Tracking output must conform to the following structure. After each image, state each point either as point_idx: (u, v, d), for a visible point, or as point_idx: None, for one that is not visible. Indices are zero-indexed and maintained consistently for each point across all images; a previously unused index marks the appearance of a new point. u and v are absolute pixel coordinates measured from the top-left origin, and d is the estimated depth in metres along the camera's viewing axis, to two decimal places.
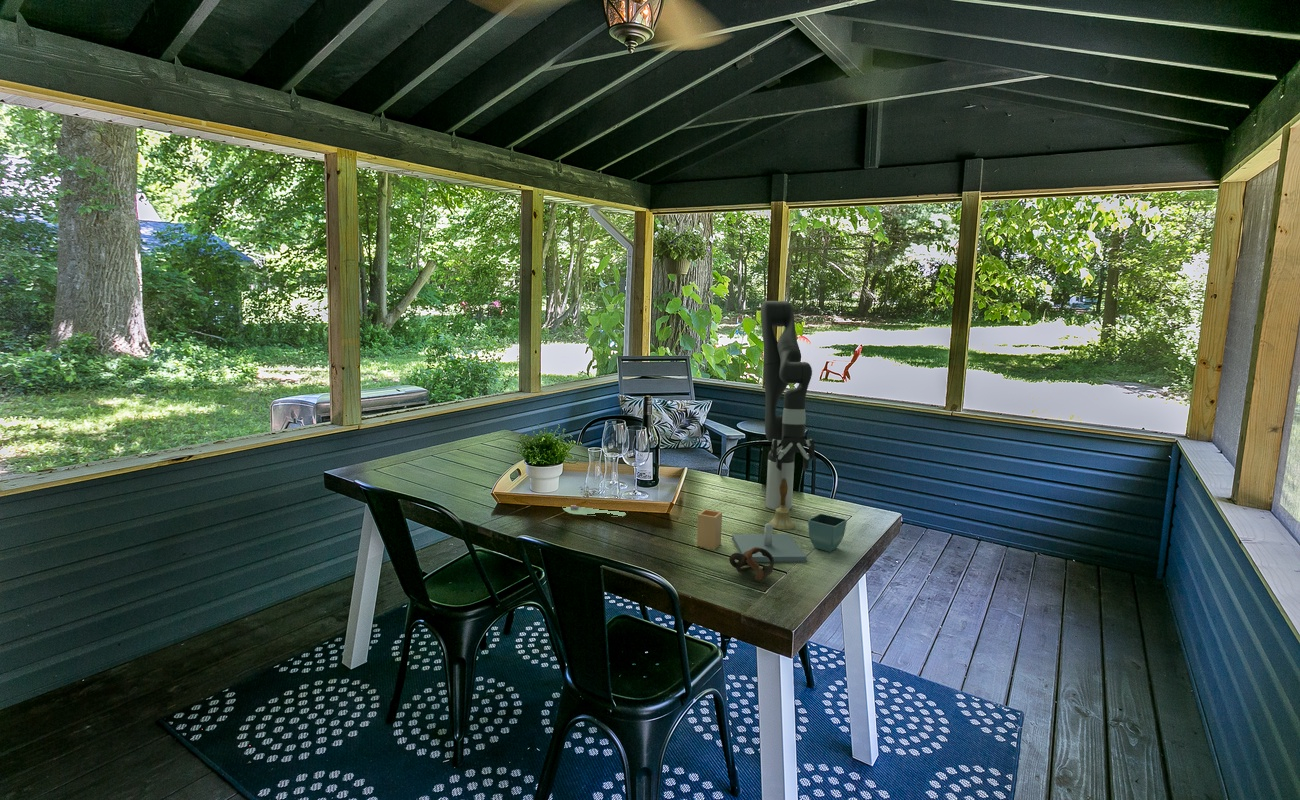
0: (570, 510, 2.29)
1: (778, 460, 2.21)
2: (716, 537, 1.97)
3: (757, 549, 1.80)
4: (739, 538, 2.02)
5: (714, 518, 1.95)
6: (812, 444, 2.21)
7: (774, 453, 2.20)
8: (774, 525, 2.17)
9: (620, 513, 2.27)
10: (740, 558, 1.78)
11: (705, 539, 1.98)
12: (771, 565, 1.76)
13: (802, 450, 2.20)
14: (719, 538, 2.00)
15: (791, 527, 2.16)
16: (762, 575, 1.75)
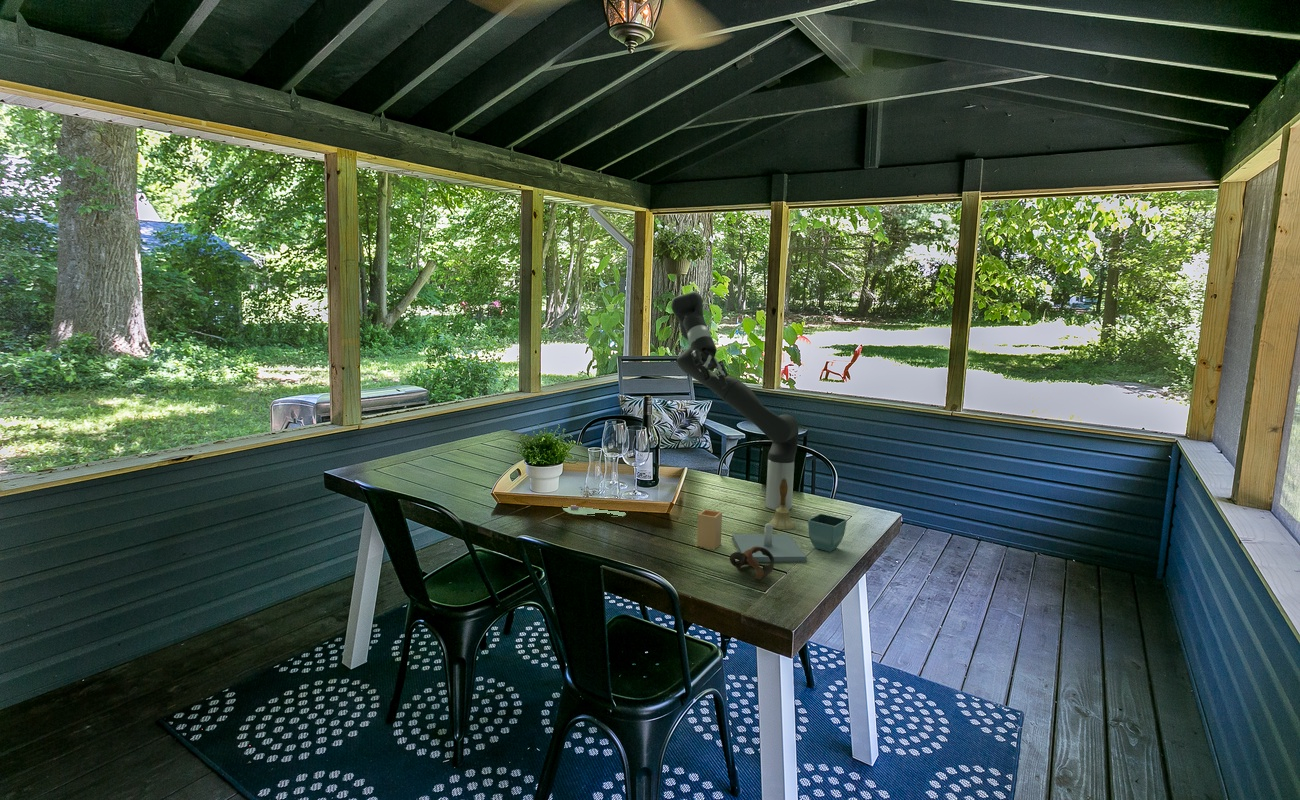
0: (570, 510, 2.29)
1: (705, 369, 2.03)
2: (716, 537, 1.97)
3: (757, 548, 1.81)
4: (739, 538, 2.02)
5: (714, 518, 1.95)
6: (722, 364, 2.14)
7: (701, 360, 2.03)
8: (774, 525, 2.17)
9: (620, 513, 2.27)
10: (740, 557, 1.79)
11: (705, 539, 1.98)
12: (771, 564, 1.77)
13: (719, 365, 2.10)
14: (719, 538, 2.00)
15: (791, 527, 2.16)
16: (762, 574, 1.76)
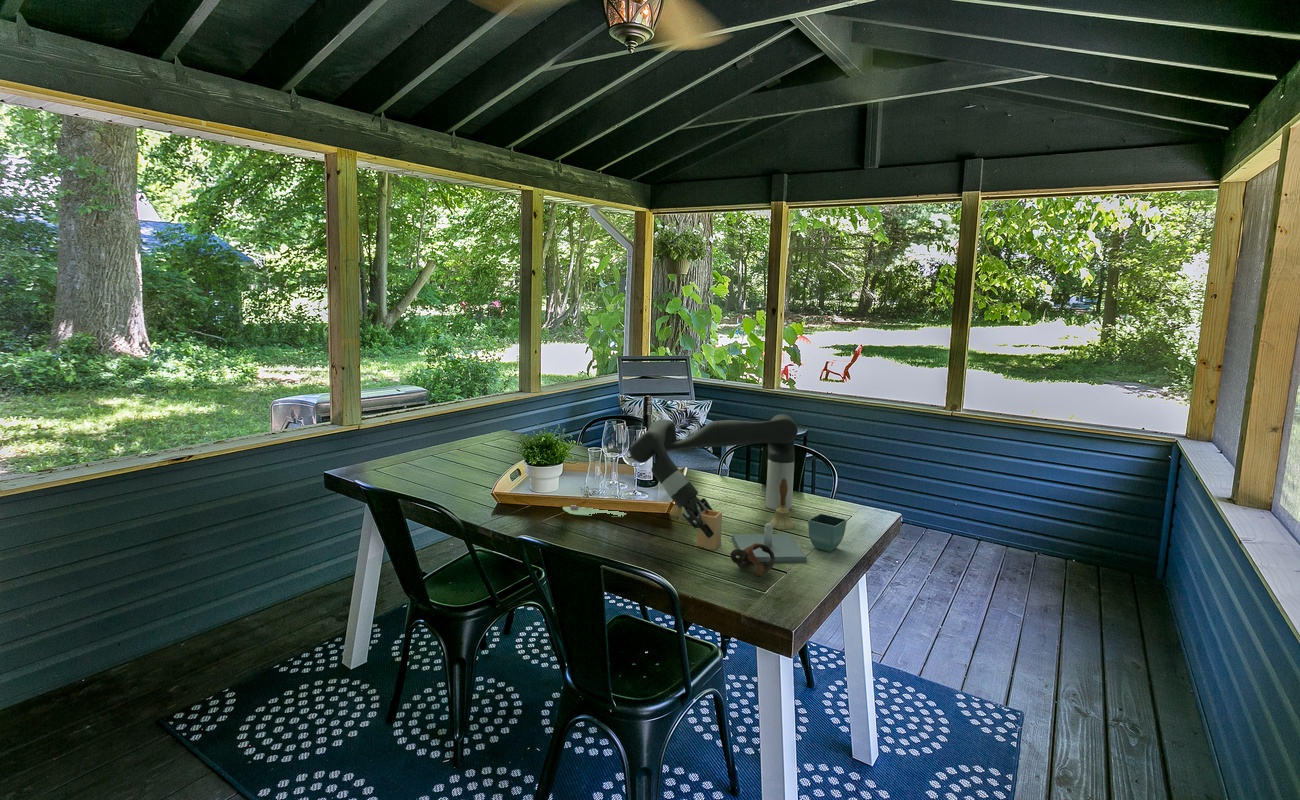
0: (570, 510, 2.29)
1: (704, 526, 1.96)
2: (716, 537, 1.97)
3: (758, 545, 1.83)
4: (739, 538, 2.02)
5: (714, 518, 1.95)
6: (706, 501, 2.05)
7: (698, 520, 1.95)
8: (774, 525, 2.17)
9: (620, 513, 2.27)
10: (741, 554, 1.81)
11: (705, 539, 1.98)
12: (772, 560, 1.80)
13: (706, 508, 2.02)
14: (719, 538, 2.00)
15: (791, 527, 2.16)
16: (763, 570, 1.78)
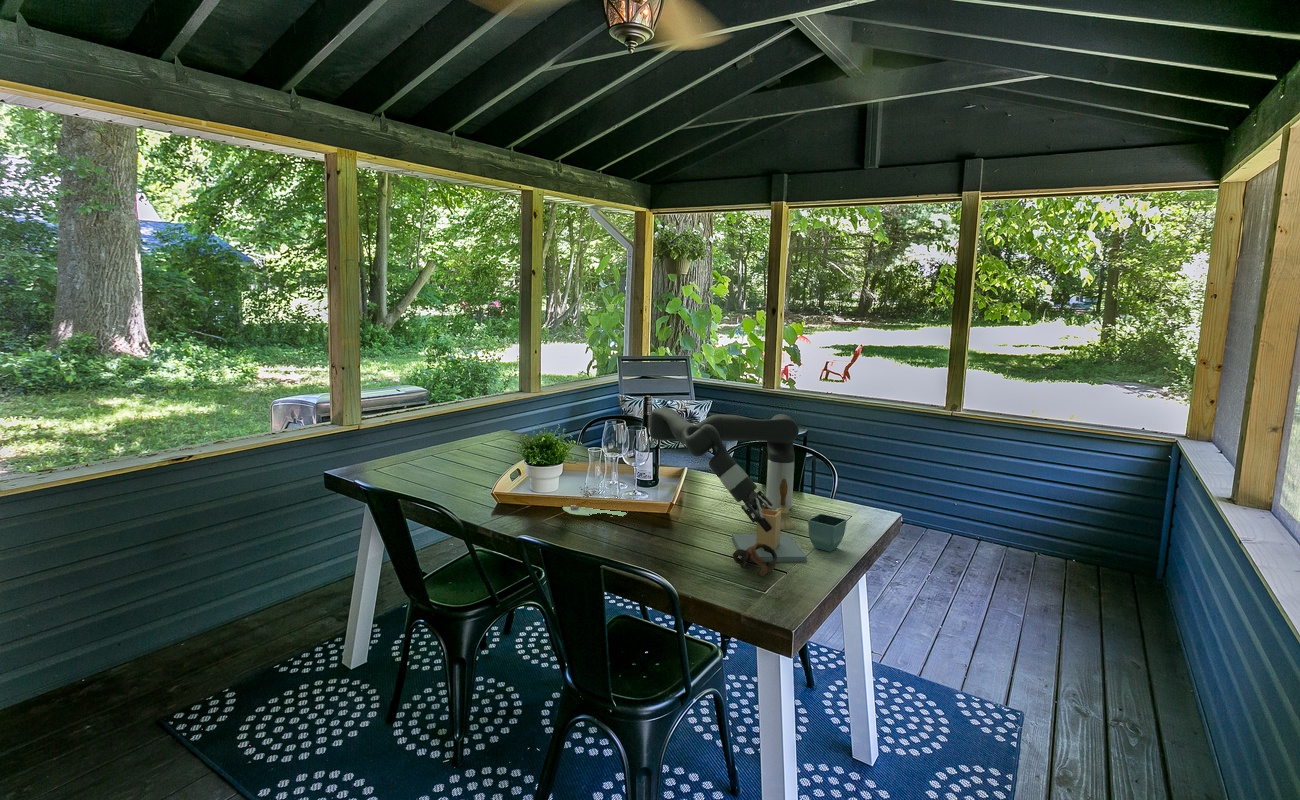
0: (570, 510, 2.29)
1: (762, 520, 1.92)
2: (776, 536, 1.95)
3: (760, 545, 1.83)
4: (739, 538, 2.02)
5: (774, 517, 1.93)
6: (762, 494, 2.03)
7: (757, 514, 1.91)
8: None
9: (620, 513, 2.27)
10: (744, 554, 1.81)
11: (765, 538, 1.95)
12: (774, 560, 1.80)
13: (764, 501, 1.99)
14: (778, 538, 1.97)
15: (791, 527, 2.16)
16: (766, 570, 1.79)
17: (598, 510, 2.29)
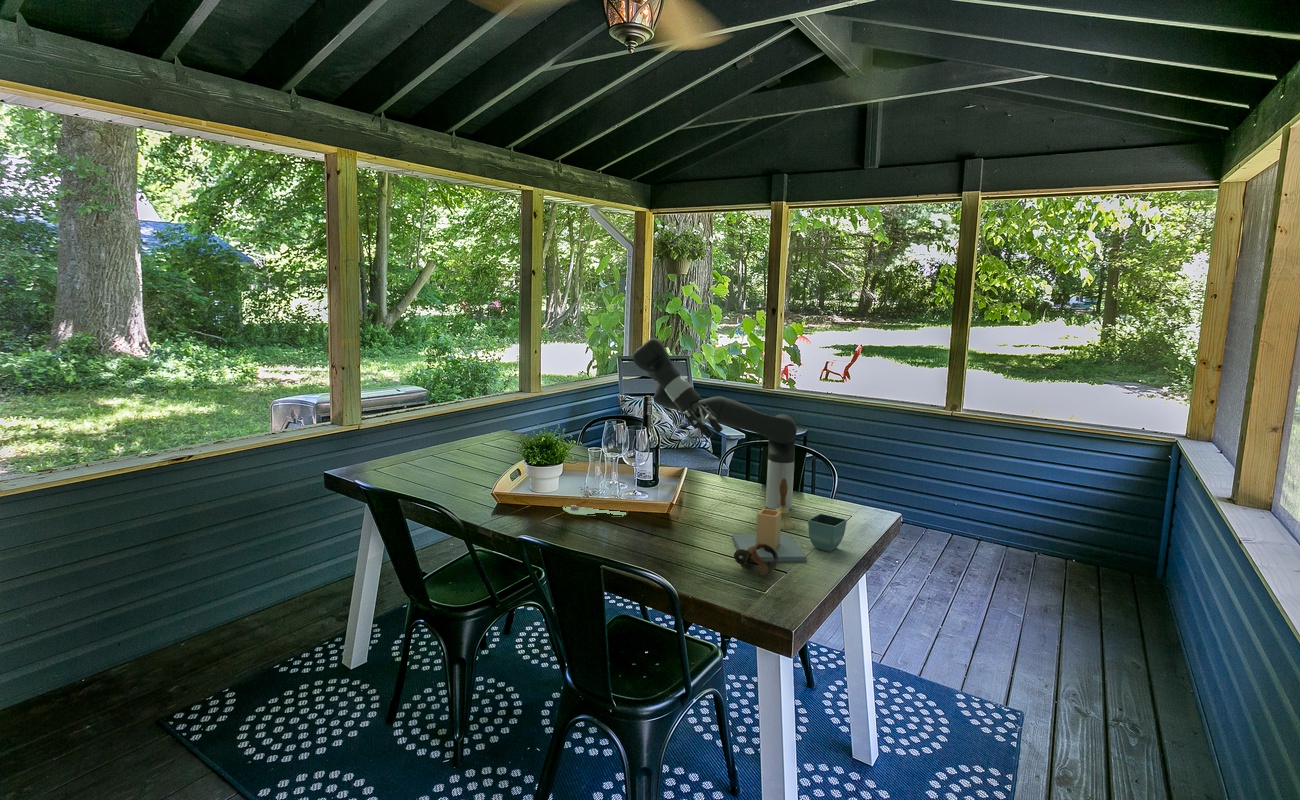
0: (570, 510, 2.29)
1: (704, 426, 1.99)
2: (776, 537, 1.95)
3: (761, 545, 1.83)
4: (739, 538, 2.02)
5: (775, 517, 1.92)
6: (707, 406, 2.09)
7: (698, 420, 1.97)
8: None
9: (620, 513, 2.27)
10: (745, 554, 1.81)
11: (765, 538, 1.95)
12: (775, 560, 1.80)
13: (708, 411, 2.06)
14: (778, 538, 1.97)
15: (791, 527, 2.16)
16: (767, 570, 1.79)
17: (598, 510, 2.29)
